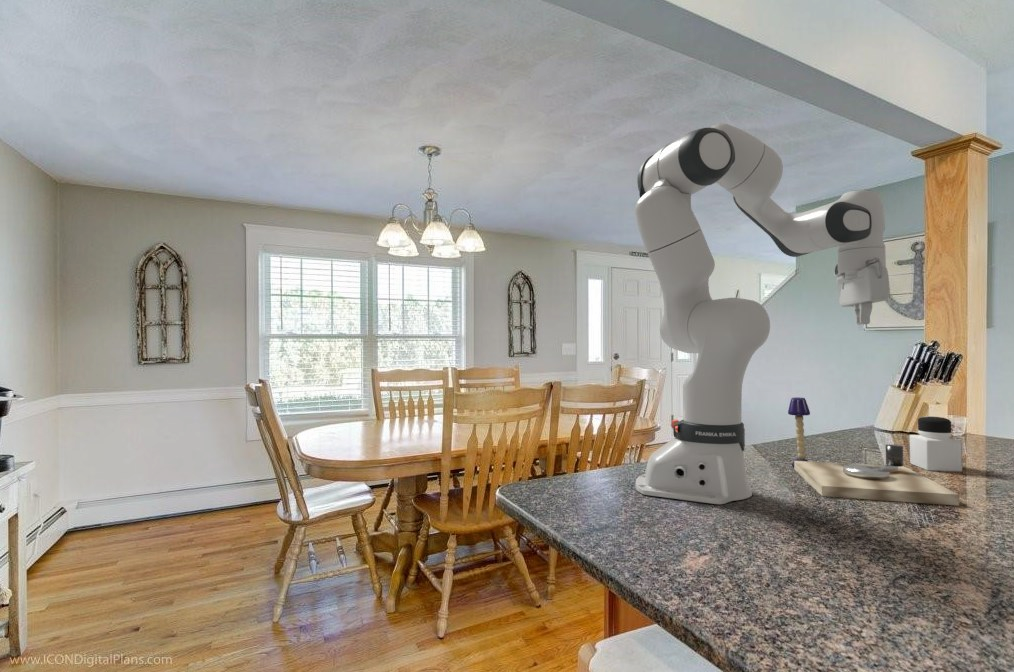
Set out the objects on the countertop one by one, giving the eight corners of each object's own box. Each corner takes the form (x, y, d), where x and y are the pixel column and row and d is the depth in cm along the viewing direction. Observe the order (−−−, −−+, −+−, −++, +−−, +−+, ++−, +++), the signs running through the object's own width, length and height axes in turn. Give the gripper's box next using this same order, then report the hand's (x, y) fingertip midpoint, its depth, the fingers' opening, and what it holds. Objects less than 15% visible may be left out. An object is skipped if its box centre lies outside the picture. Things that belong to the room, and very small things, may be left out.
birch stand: (822, 496, 99) (821, 485, 99) (794, 469, 120) (794, 460, 120) (959, 505, 92) (958, 494, 92) (904, 475, 113) (904, 466, 113)
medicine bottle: (963, 472, 115) (961, 419, 116) (927, 470, 117) (926, 419, 117) (943, 464, 122) (941, 415, 122) (909, 463, 124) (908, 414, 124)
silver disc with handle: (872, 480, 101) (871, 454, 101) (834, 470, 108) (833, 447, 108) (919, 473, 106) (919, 448, 106) (880, 464, 113) (879, 442, 113)
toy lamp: (790, 467, 121) (789, 398, 121) (787, 463, 125) (786, 396, 125) (813, 469, 119) (812, 399, 119) (810, 465, 123) (808, 397, 123)
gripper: (898, 254, 103) (900, 322, 103) (861, 269, 123) (862, 325, 123) (862, 256, 105) (864, 322, 105) (831, 270, 125) (832, 326, 125)
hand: (863, 324), depth 114 cm, fingers closed
